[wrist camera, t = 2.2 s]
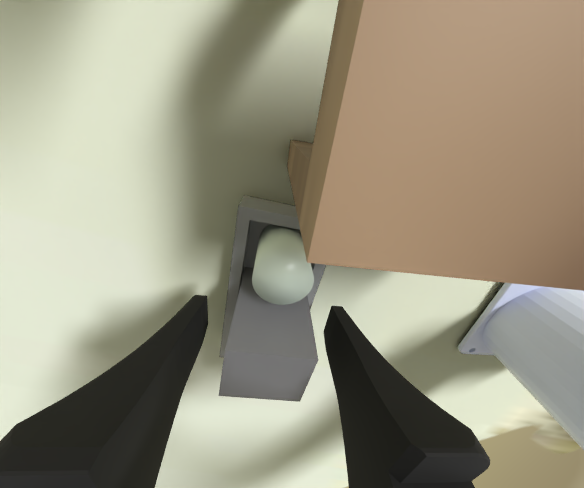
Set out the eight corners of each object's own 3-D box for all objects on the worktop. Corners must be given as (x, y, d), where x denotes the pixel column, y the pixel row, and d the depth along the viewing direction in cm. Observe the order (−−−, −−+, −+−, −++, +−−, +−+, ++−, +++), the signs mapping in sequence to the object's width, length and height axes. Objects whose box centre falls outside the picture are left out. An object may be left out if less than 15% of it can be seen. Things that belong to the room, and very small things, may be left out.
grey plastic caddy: (331, 212, 13) (374, 282, 7) (289, 340, 18) (294, 442, 12) (244, 194, 12) (212, 256, 6) (225, 332, 17) (198, 438, 11)
